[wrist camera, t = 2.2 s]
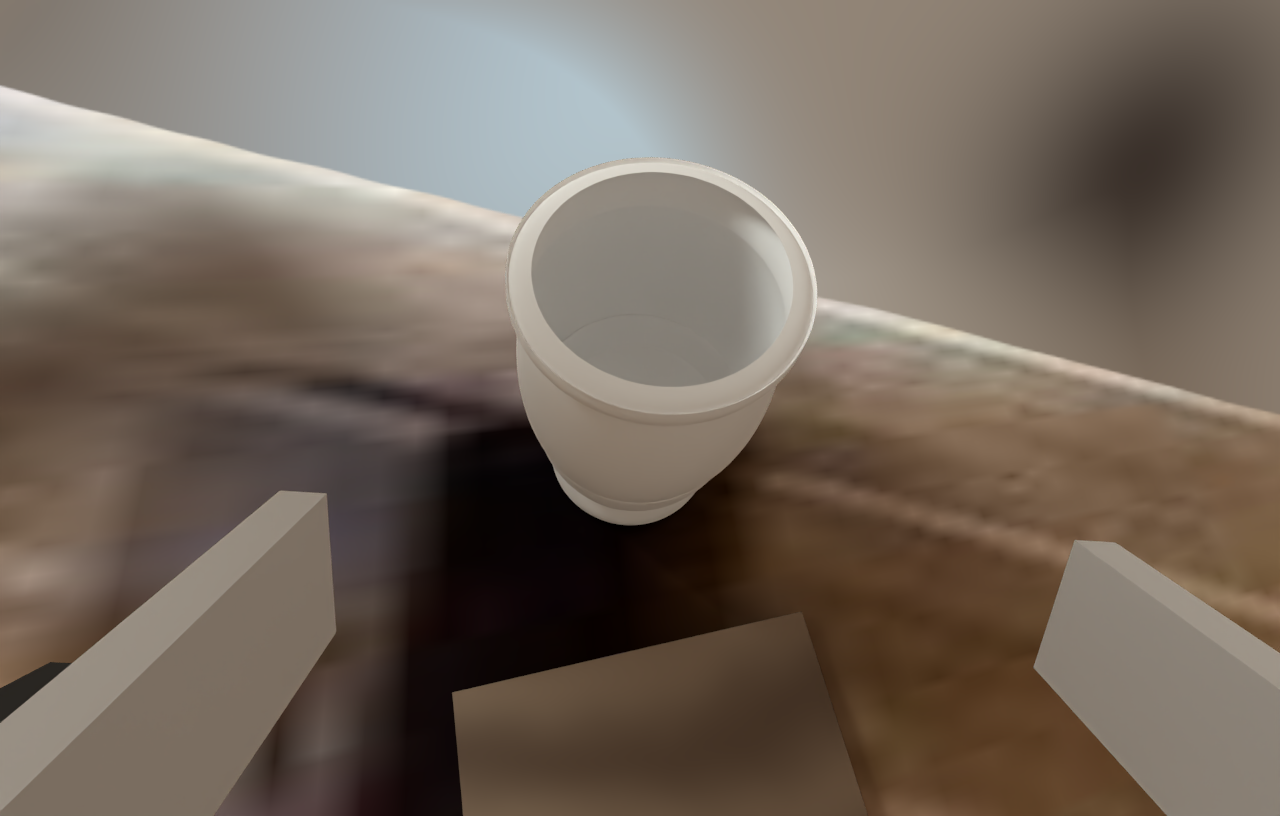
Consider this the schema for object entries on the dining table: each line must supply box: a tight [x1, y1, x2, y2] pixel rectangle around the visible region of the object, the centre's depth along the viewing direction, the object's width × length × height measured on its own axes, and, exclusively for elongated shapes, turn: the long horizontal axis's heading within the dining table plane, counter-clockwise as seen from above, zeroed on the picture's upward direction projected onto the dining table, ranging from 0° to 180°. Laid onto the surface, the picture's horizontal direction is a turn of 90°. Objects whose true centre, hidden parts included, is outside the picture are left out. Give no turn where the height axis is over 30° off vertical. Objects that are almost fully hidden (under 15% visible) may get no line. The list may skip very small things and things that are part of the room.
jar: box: [505, 157, 817, 525], centre depth 27 cm, size 11×10×15 cm
